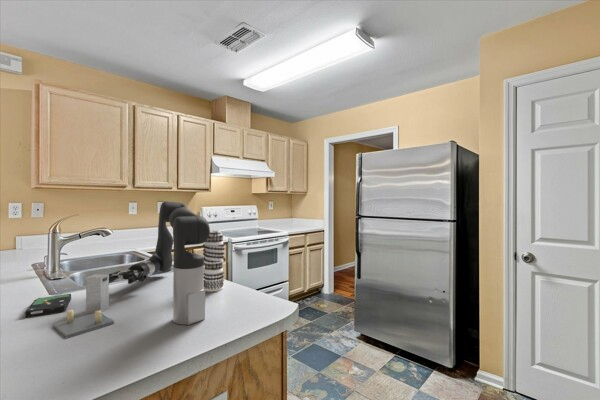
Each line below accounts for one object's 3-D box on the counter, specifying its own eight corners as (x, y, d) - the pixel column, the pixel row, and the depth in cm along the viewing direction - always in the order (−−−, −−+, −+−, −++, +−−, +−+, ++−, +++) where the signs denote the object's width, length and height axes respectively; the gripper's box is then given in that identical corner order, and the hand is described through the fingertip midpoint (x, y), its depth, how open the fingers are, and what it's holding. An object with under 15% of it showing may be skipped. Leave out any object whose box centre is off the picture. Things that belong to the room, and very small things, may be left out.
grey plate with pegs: (114, 323, 90) (114, 309, 90) (66, 338, 80) (66, 322, 80) (98, 314, 97) (98, 301, 97) (53, 326, 87) (53, 312, 87)
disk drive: (65, 313, 99) (71, 300, 111) (65, 305, 99) (71, 292, 111) (24, 320, 93) (35, 305, 106) (24, 311, 93) (35, 297, 106)
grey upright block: (108, 308, 102) (108, 274, 102) (100, 312, 98) (100, 277, 98) (94, 308, 102) (94, 274, 102) (85, 312, 98) (86, 277, 98)
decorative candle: (215, 292, 120) (216, 232, 120) (197, 290, 124) (198, 231, 124) (228, 286, 129) (229, 230, 129) (211, 284, 132) (212, 229, 132)
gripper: (126, 261, 128) (99, 271, 111) (158, 262, 127) (136, 271, 111) (125, 278, 128) (99, 290, 111) (157, 279, 127) (136, 291, 111)
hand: (118, 281), depth 111 cm, fingers open, 8 cm apart
